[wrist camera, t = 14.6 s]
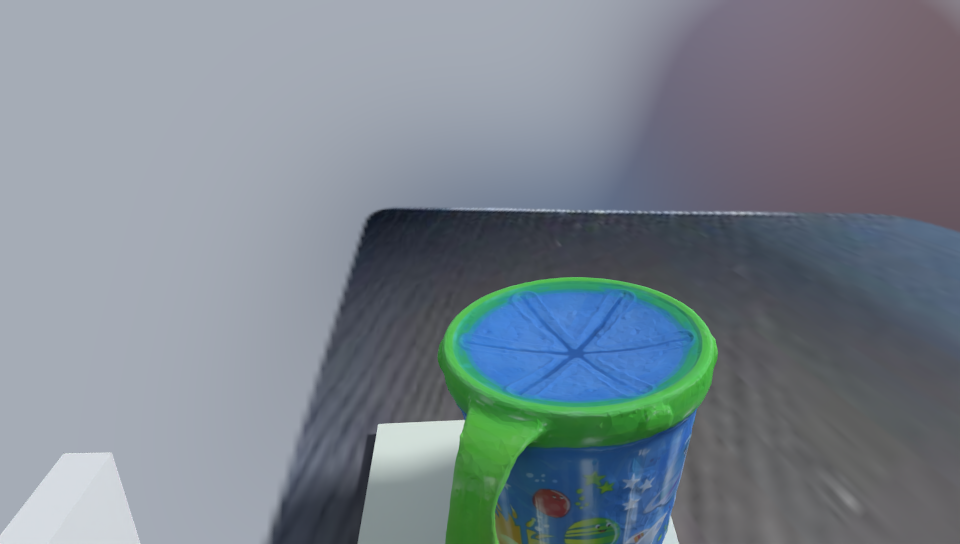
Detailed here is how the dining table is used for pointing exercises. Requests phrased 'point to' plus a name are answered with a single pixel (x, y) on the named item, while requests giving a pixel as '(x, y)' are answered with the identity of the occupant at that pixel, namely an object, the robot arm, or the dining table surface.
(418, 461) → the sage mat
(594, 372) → the snack cup
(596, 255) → the dining table surface
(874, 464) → the dining table surface
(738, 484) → the dining table surface
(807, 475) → the dining table surface
